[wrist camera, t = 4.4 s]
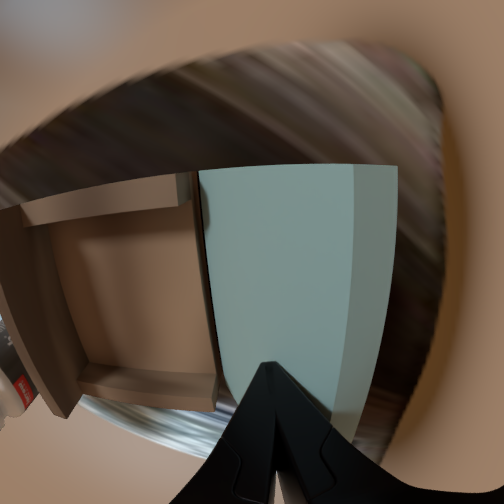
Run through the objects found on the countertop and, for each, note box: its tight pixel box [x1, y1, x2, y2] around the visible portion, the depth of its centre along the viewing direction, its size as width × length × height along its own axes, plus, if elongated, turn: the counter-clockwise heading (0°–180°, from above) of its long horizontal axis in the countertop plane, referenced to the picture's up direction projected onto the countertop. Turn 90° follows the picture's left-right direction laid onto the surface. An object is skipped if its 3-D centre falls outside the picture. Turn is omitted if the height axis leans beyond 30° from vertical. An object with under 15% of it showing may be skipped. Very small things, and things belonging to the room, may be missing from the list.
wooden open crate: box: [0, 171, 222, 419], centre depth 12 cm, size 10×12×6 cm
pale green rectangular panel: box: [199, 164, 398, 443], centre depth 10 cm, size 1×12×9 cm, turn 5°
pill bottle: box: [0, 319, 39, 431], centre depth 12 cm, size 6×6×10 cm
